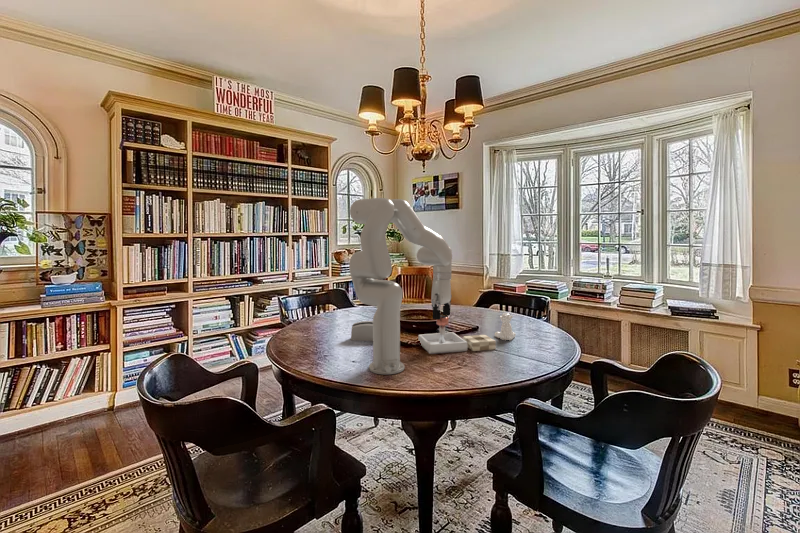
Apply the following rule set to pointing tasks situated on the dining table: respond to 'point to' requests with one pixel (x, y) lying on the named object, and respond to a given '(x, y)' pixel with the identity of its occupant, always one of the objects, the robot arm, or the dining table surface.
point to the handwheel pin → (442, 327)
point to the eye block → (480, 342)
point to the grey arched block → (362, 331)
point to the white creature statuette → (505, 328)
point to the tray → (451, 343)
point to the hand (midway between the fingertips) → (441, 317)
